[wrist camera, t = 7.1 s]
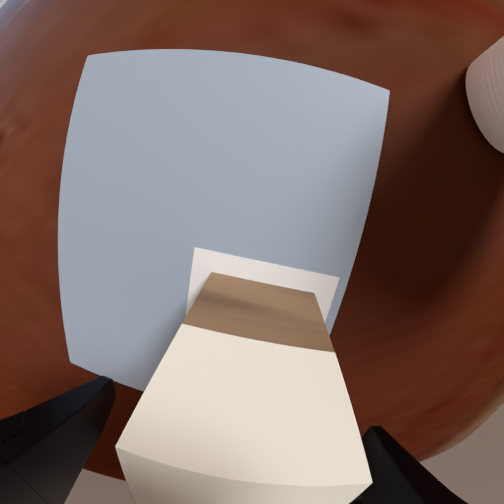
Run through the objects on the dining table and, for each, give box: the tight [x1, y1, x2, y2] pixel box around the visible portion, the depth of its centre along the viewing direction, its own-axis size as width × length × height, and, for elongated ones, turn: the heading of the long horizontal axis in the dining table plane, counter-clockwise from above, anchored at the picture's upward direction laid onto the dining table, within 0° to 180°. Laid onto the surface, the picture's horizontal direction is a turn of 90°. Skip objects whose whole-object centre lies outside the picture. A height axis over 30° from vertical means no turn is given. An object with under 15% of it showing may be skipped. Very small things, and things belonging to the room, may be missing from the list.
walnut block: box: [182, 272, 334, 352], centre depth 12 cm, size 5×5×5 cm
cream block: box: [115, 324, 373, 504], centre depth 7 cm, size 5×5×5 cm
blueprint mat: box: [58, 49, 390, 391], centre depth 14 cm, size 20×16×1 cm
